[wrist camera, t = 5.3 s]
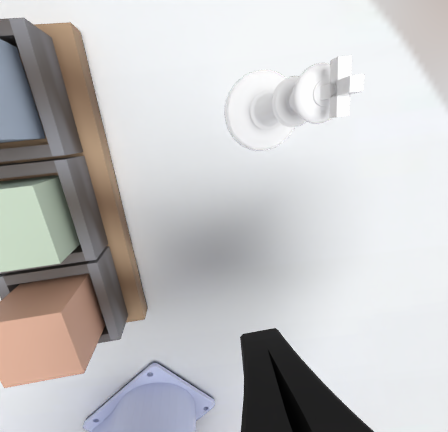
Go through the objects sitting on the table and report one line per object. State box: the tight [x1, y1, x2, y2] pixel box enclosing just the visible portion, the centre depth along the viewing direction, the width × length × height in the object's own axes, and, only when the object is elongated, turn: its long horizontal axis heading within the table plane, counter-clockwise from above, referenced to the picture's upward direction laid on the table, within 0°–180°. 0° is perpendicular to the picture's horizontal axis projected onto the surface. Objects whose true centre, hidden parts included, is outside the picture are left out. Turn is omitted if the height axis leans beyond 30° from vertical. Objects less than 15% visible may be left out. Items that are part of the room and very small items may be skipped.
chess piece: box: [225, 55, 365, 151], centre depth 12 cm, size 5×5×10 cm
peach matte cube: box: [0, 274, 105, 388], centre depth 14 cm, size 4×4×4 cm
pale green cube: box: [0, 175, 80, 272], centre depth 13 cm, size 4×4×4 cm
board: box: [0, 18, 147, 343], centre depth 15 cm, size 19×8×4 cm, turn 6°
